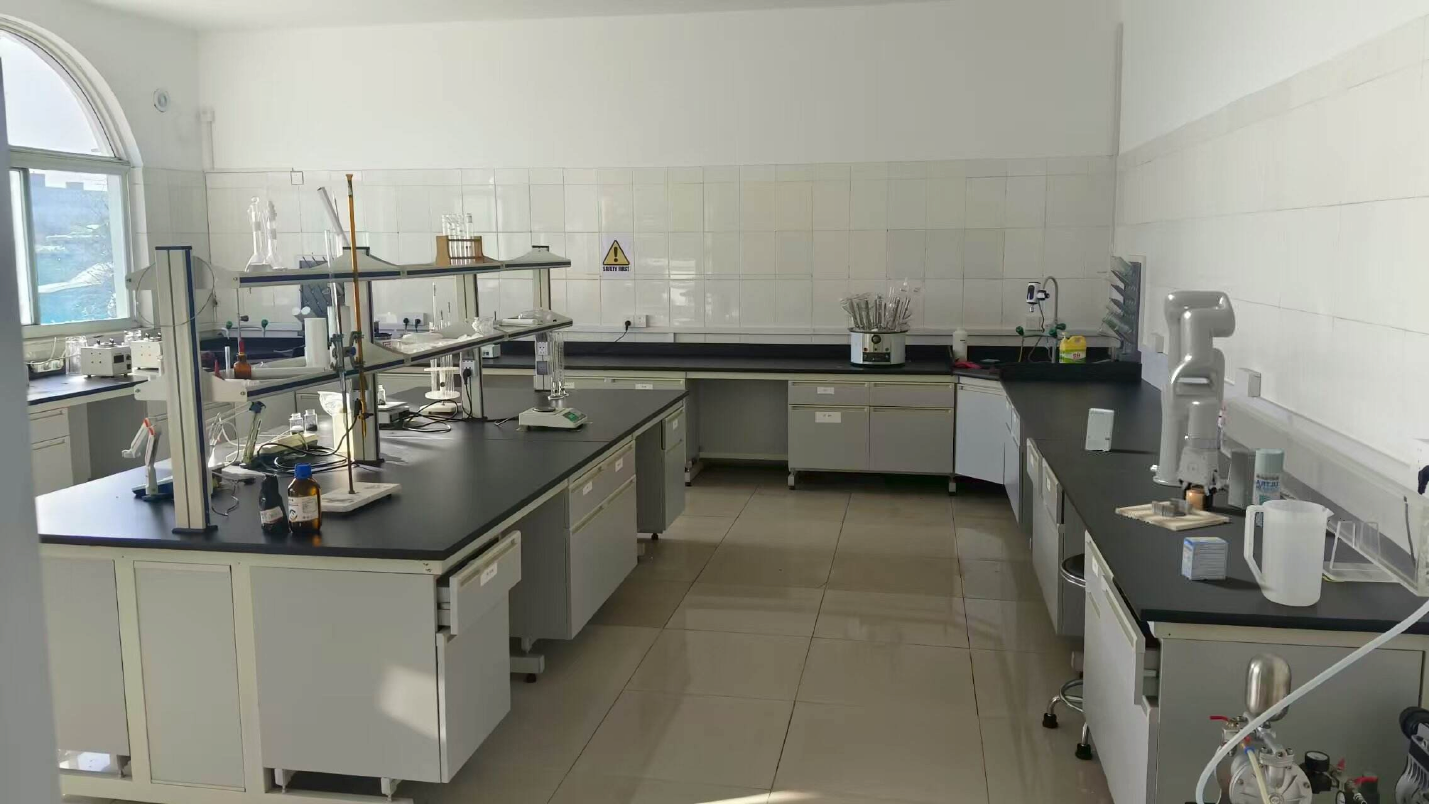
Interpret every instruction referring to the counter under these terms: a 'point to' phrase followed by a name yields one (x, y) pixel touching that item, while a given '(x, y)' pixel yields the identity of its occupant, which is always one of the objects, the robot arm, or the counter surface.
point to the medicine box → (1204, 558)
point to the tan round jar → (1196, 498)
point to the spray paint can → (1267, 477)
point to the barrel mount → (1172, 515)
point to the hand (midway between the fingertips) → (1197, 505)
